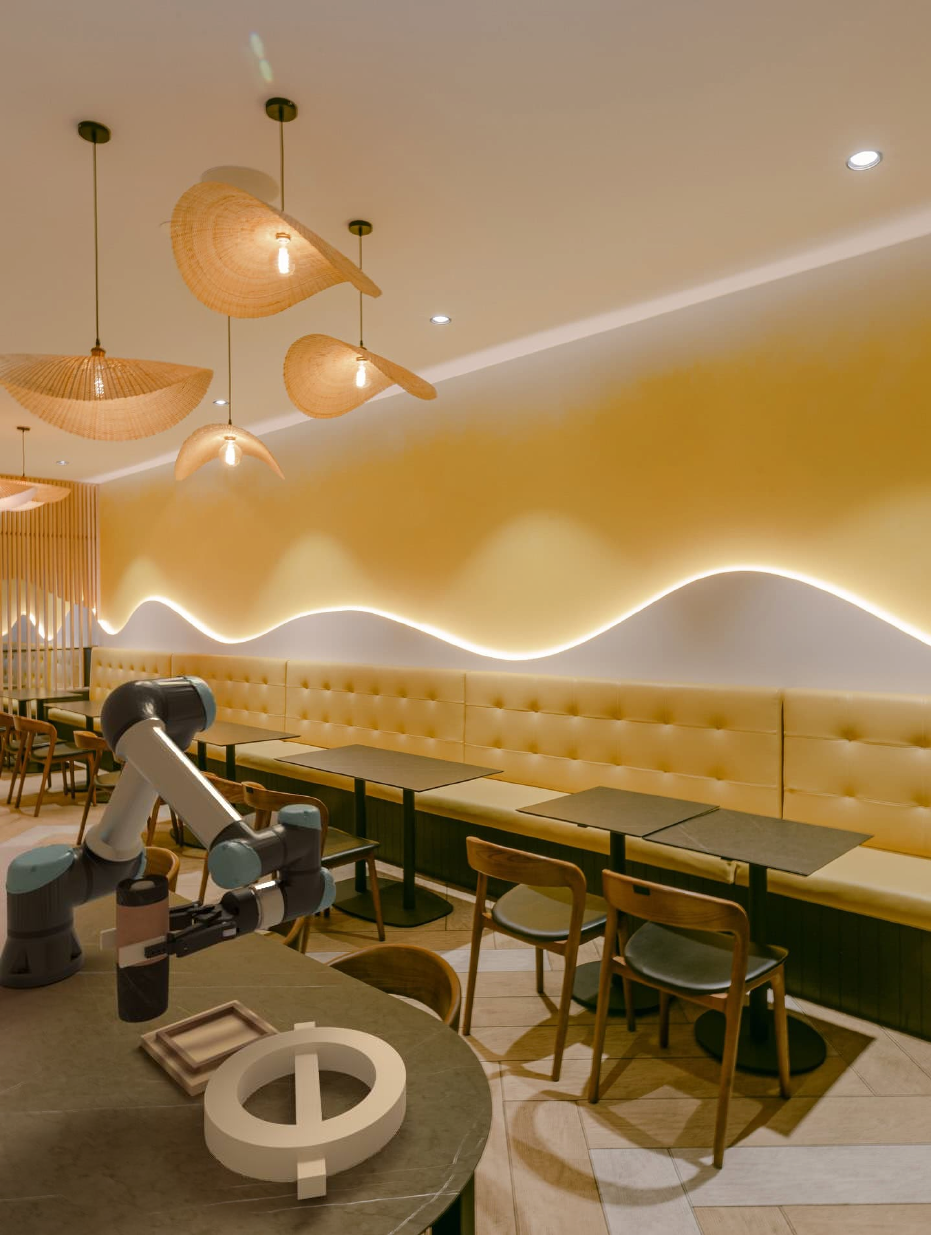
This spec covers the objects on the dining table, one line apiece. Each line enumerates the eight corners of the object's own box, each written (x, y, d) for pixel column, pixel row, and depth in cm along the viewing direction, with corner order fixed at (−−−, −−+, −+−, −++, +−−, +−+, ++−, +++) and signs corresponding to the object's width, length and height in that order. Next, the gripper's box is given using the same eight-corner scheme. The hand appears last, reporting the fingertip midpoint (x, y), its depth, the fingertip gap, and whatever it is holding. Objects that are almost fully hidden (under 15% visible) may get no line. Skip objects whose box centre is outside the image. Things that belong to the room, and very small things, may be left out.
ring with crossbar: (312, 1218, 91) (312, 1178, 91) (160, 1134, 106) (160, 1099, 106) (443, 1093, 115) (443, 1061, 115) (304, 1038, 130) (304, 1010, 130)
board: (140, 1045, 127) (140, 1029, 127) (235, 1008, 139) (235, 994, 139) (192, 1096, 114) (192, 1079, 114) (292, 1050, 126) (292, 1035, 126)
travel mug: (150, 1026, 115) (149, 892, 115) (105, 1021, 117) (104, 888, 117) (180, 1001, 123) (179, 875, 122) (137, 996, 124) (136, 872, 124)
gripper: (281, 949, 125) (135, 998, 109) (223, 914, 139) (88, 952, 124) (280, 903, 124) (135, 945, 109) (222, 872, 139) (87, 906, 124)
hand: (110, 949), depth 116 cm, fingers closed on travel mug, 7 cm apart
